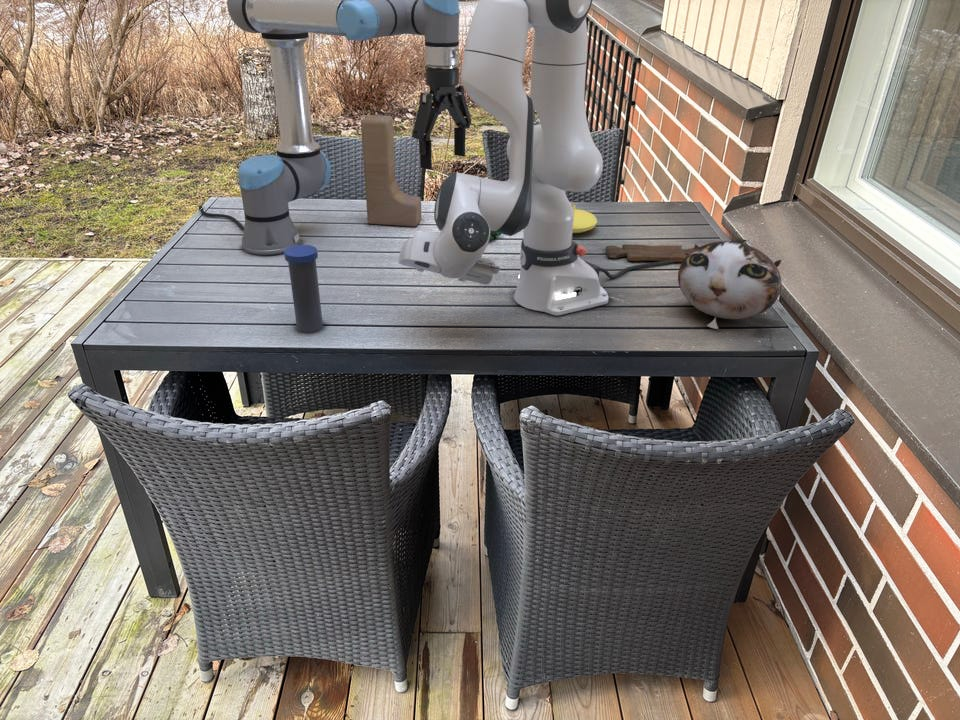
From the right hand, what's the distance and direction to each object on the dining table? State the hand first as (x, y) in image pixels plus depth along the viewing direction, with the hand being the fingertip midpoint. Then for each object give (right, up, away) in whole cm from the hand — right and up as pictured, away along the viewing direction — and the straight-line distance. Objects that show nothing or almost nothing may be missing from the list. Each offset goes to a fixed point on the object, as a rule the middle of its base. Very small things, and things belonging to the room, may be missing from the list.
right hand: (440, 273), depth 158 cm
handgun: (+8, +18, +50) cm, 54 cm away
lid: (-28, +3, -10) cm, 30 cm away
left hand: (0, +28, +12) cm, 30 cm away
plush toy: (+64, -9, +6) cm, 65 cm away
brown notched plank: (+56, +9, +36) cm, 67 cm away
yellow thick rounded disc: (+35, +19, +53) cm, 67 cm away
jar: (-29, -12, -1) cm, 31 cm away
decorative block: (-17, +22, +56) cm, 63 cm away
